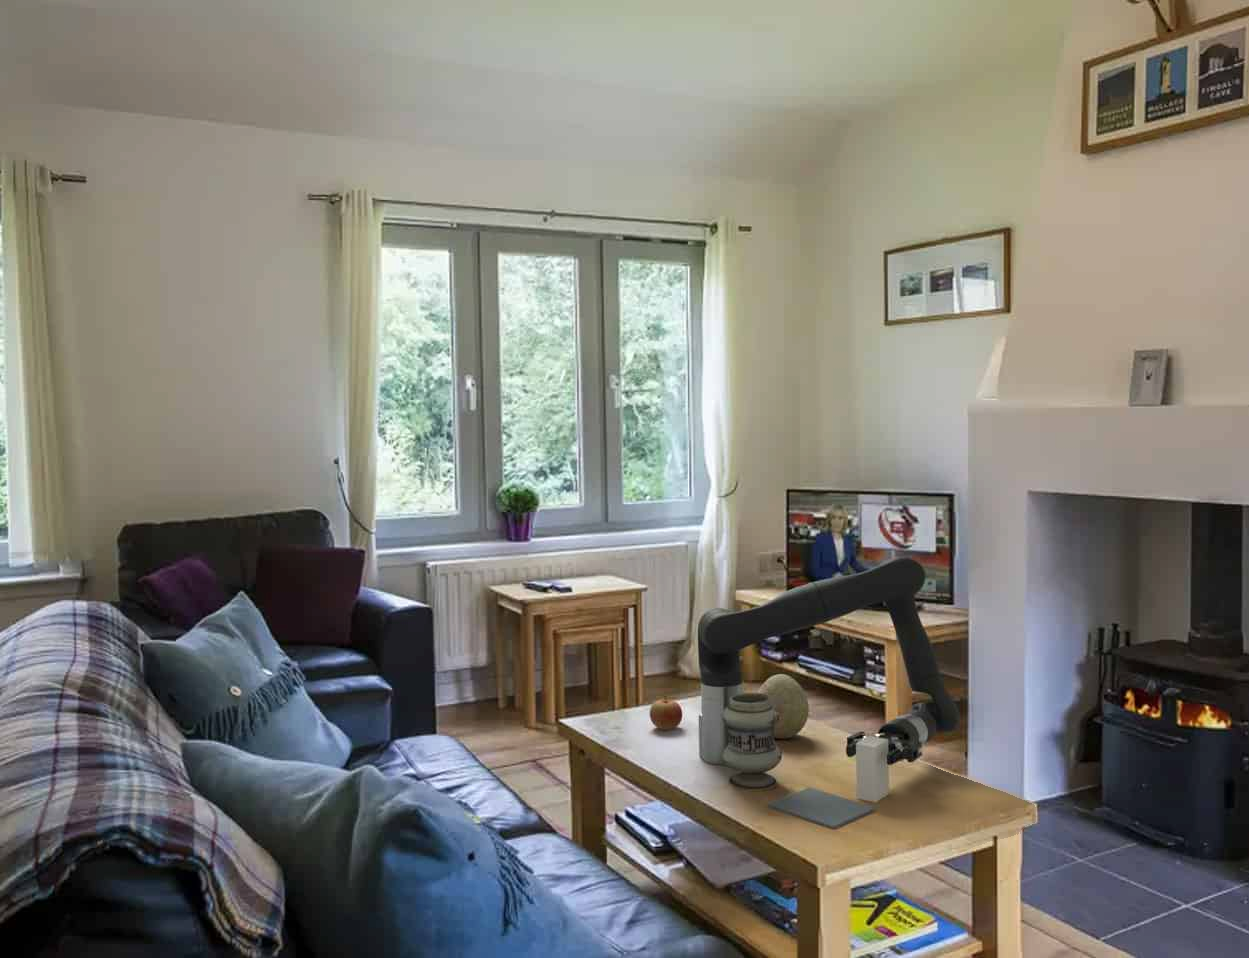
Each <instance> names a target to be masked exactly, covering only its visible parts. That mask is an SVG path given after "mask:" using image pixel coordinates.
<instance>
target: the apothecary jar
mask: <svg viewBox="0 0 1249 958" xmlns="http://www.w3.org/2000/svg"><path fill="white" fill-rule="evenodd" d="M729 702H730V703H729V706H728V707H726V708H725V710H724V711H723V713H722V719H723V721H724V723H725V724H726V725H727V726H728V741H729V742H728V746H727V747H726V748H725V750H724V752H723V759H724V761H725V763H726V764H725V765H726V766H727V767H729V768H730V769H731V770H734V771H736V772H737V773H735V774H733V775H731V777H730V778H729V779H728V783H729V785H731V786H732V787H733V788H735V789H739V790H741V791H742V790H743V791H750V792H752V791H753V792H758V791H759V792H760V791H766V790H770V789H772V788H774V787H775V786H776V785H777V780H776V778H775V777H774V776H773V775H770V774H768V773H767V772H769V771H771V770H773V769H774V768H776V767H777V766H778V765H779V764H780V763H781V761H782V757H783V756H782V751H781V750H780V748H779V747H778V746H777V745H776V741H775V740H776V738H775V737H774V725H776V724H777V722H778V721H779V712H778V710H777V709H776V708H775V707H774V706H772V703H771V699H770V696H768V695H766V694H762V693H758V692H743V693H740V694H736V695H733V696H731V697H730V701H729Z"/></svg>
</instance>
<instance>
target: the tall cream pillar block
mask: <svg viewBox="0 0 1249 958" xmlns="http://www.w3.org/2000/svg"><path fill="white" fill-rule="evenodd" d="M868 736H869V737H867V738H865V739H863V740H862V741H860V742H858V743H856V755H855V759H856V760H855V764H856V765H855V767H856V769H855V770H856V771H855V773H856V774H855V775H856V776H855V777H856V799H857V800H862V801H867V802H872V803H877V802H879V801H880V800H882V799H883V798H885V797H887V796H888V795H889V794H890V785H889V784H890V783H889V782H890V779H889V778H890V777H889V774H890V773H889V772H890V771H889V766H890V765H887V754H888V739H884V738H878V737H873V736H870V735H868Z"/></svg>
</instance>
